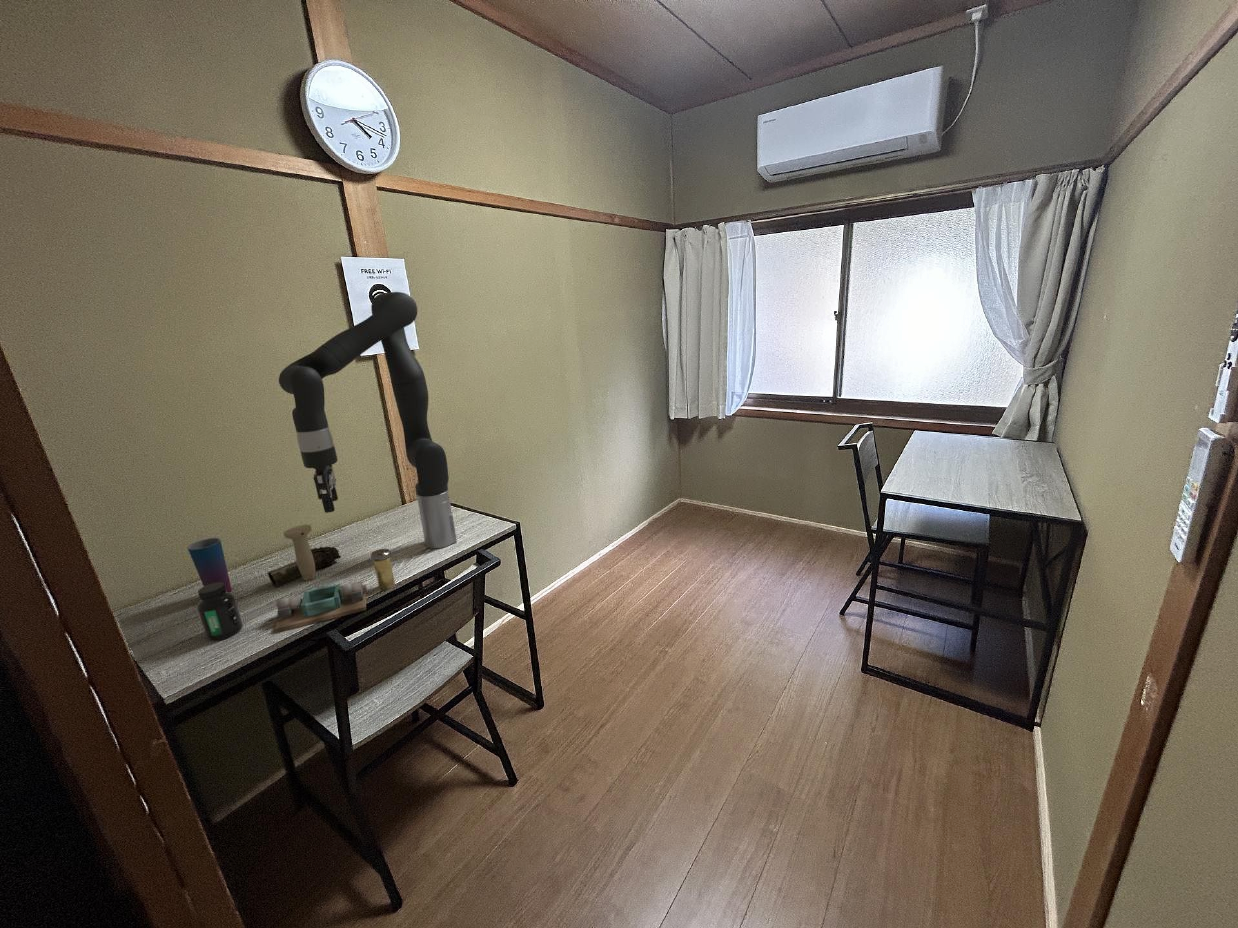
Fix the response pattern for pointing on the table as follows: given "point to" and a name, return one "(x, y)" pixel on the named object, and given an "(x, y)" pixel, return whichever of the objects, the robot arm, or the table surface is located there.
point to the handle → (302, 550)
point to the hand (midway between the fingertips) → (331, 506)
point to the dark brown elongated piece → (291, 571)
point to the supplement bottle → (218, 612)
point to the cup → (210, 561)
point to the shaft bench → (321, 605)
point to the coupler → (383, 568)
